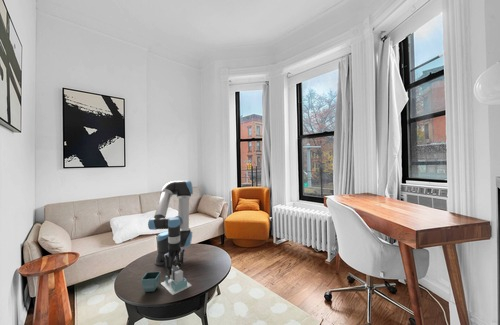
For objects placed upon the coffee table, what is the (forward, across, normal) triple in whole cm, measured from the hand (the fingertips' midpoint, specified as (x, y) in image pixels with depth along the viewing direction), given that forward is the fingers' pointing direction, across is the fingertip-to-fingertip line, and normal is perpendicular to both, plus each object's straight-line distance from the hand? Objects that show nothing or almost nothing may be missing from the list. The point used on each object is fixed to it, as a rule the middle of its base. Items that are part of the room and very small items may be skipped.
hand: (174, 277), depth 136 cm
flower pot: (+5, -13, +5) cm, 15 cm away
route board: (+4, 0, -1) cm, 5 cm away
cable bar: (0, 0, 0) cm, 0 cm away
